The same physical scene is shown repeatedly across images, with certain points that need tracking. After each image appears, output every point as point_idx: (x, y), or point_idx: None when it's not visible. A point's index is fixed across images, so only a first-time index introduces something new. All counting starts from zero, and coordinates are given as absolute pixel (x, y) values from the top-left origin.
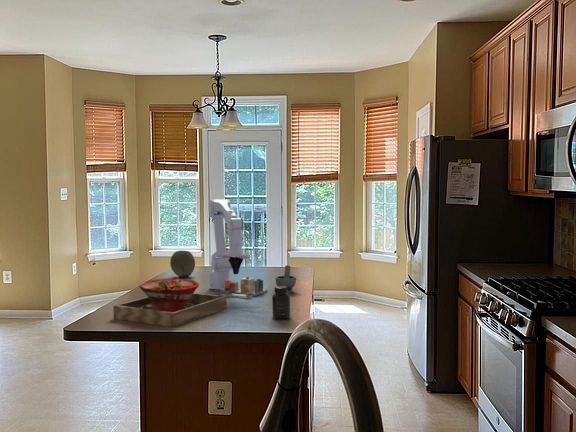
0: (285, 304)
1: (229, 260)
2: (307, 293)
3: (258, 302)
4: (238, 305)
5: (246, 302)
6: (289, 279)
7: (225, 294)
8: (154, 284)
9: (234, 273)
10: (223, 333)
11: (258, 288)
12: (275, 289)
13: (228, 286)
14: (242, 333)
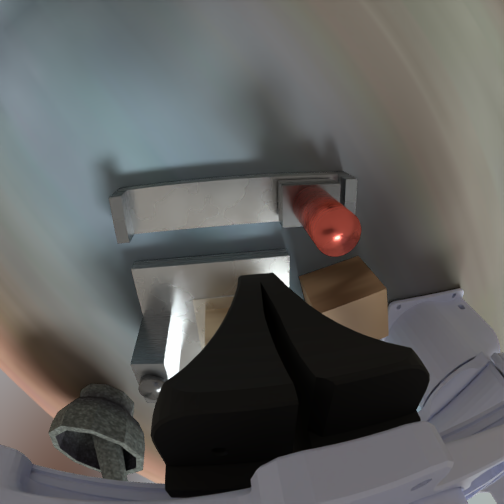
0: None
1: (388, 357)
2: (31, 396)
3: (16, 147)
4: (62, 18)
5: (64, 102)
6: (50, 429)
7: (304, 175)
8: None
9: (261, 276)
10: None
11: (140, 330)
12: None
13: (302, 206)
14: None
